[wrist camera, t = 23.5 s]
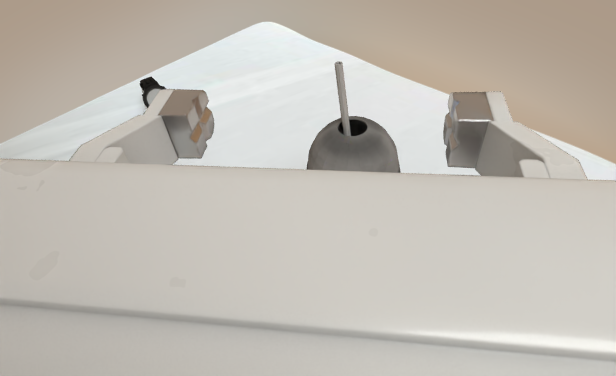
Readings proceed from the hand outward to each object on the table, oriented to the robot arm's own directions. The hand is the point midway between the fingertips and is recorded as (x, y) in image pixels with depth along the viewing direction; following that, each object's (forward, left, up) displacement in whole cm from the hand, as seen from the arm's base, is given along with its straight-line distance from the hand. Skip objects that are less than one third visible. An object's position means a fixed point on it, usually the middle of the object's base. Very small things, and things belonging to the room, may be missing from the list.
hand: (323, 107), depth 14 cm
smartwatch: (-46, -9, -26) cm, 53 cm away
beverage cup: (-11, +6, -26) cm, 28 cm away
